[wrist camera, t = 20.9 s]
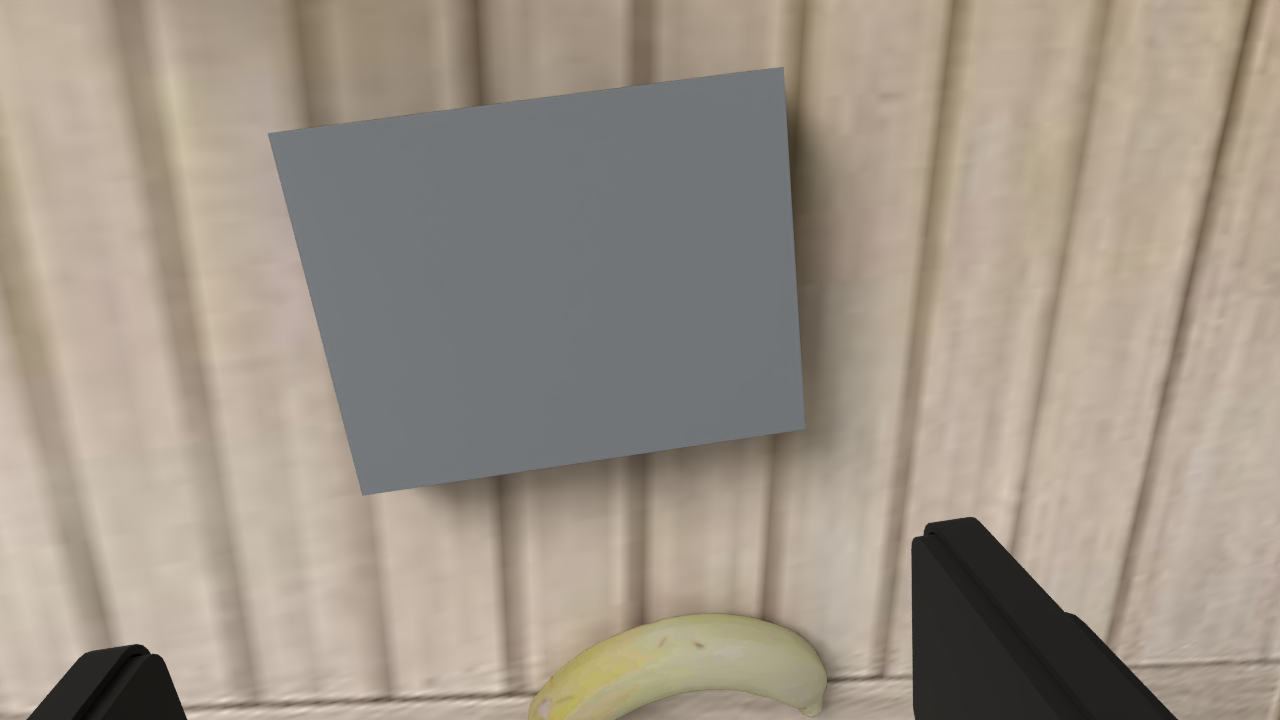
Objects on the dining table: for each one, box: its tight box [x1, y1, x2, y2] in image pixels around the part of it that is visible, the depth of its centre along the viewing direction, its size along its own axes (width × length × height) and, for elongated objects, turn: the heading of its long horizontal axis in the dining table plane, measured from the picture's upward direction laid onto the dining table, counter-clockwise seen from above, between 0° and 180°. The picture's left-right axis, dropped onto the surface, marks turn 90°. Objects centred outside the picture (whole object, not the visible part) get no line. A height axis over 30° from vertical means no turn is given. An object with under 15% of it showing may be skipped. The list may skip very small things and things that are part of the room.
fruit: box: [528, 614, 827, 720], centre depth 39 cm, size 7×15×3 cm, turn 94°
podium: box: [268, 67, 805, 496], centre depth 32 cm, size 18×14×4 cm
